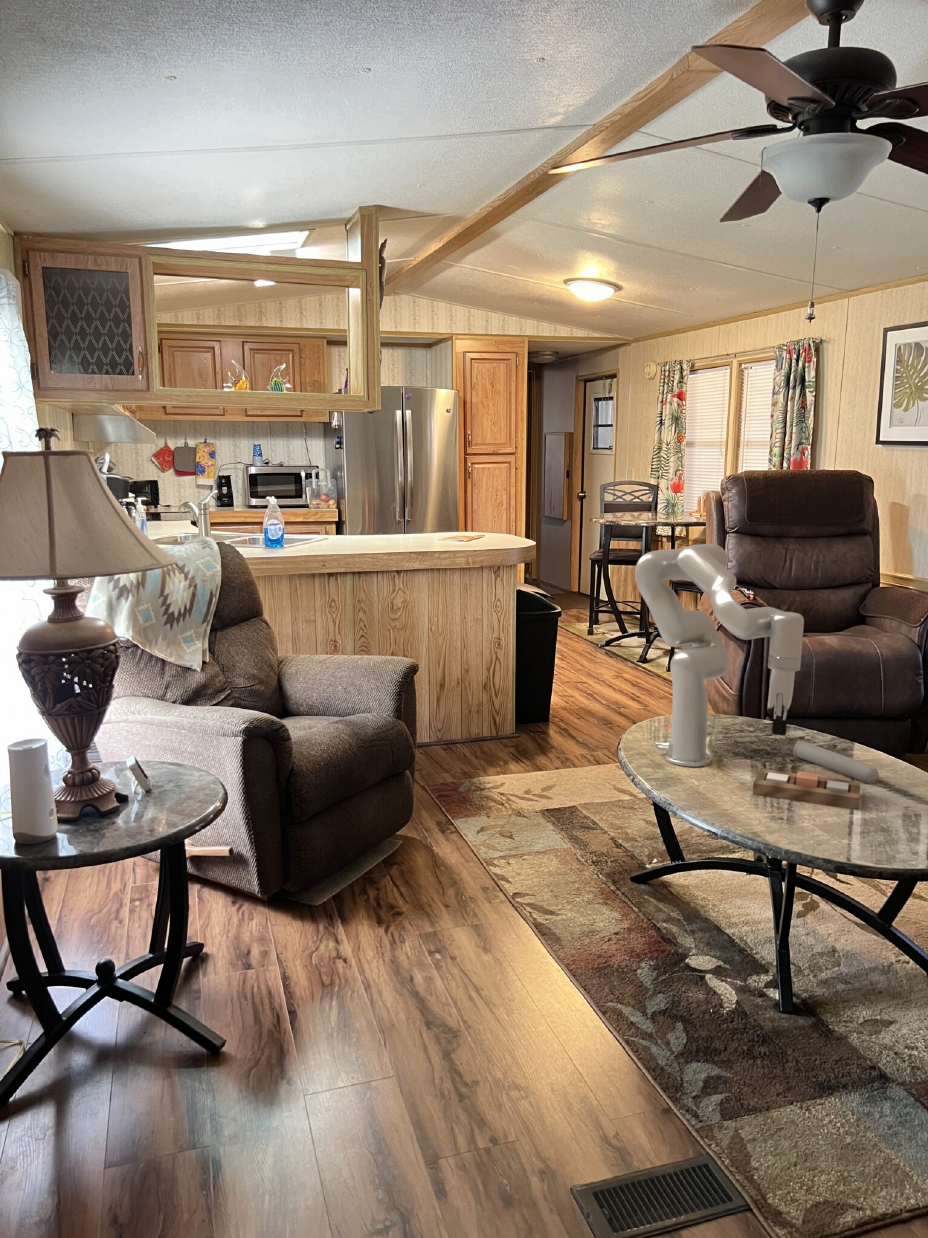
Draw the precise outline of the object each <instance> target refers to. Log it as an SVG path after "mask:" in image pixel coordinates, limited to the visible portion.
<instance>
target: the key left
mask: <svg viewBox="0 0 928 1238" xmlns="http://www.w3.org/2000/svg"><path fill="white" fill-rule="evenodd" d="M788 776H789V775H785V774H777V773H770V772H769V773H768V775H767V778H766V781H772V782H779V783H786V784H788Z"/></svg>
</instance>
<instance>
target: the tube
mask: <svg viewBox="0 0 928 1238" xmlns="http://www.w3.org/2000/svg"><path fill="white" fill-rule="evenodd" d="M792 755H793V756H794V757H795V758H797V759H801V760H803V761H805V762H809V763H811V764H814V765H817V766H820V767H823V768H824V769H828V770H830V771H833V772H836V773H839V774H841V775H843V776H846V777H849V778H851V779H854V780H856V781H858V782H861V783H865V784H870V785H871V784H874V783H876V782H877V781H878V780H879V779H880V774H879V773H880V772H879V770H878V769H877V768H876V767H875V766H874V765H871V764H869V763H866V762H863V761H860V760H857V759H856V758H855V759H854V758H852V757H849V756H846V755H843V754H840V753H838V752H835V751H832V750H829V749H827V748H825V747H821V746H818V745H815V744H813V743H810V742H807V741H806V740H804V739H801V740H798V741H796V743H795V745H794V746H793V753H792Z"/></svg>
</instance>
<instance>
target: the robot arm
mask: <svg viewBox="0 0 928 1238" xmlns="http://www.w3.org/2000/svg"><path fill="white" fill-rule="evenodd" d="M728 561H729V558H728V554H727V553H726V551H725V550H724V548H723V547H721V546H720V545H718V544H715V543H703V544H702V543H701V544H692V545H689V546H686V547H685V548H673V549H659V550H652V551H649V552H647V553H645V554H643V555H642V556H640V558H639V559H638V561H637V562H636V566H635V569H634V581H635V584H636V587H637V590H638V592H639V593H640V595H641V597H642V599H643V600H644V602H645V604H646V605H647V607H648V609H649V611H650V612H649V613H650V615H651V616H652V619H653V622H654V624H655V625H656V628H657V629H658V632H659V635H660V637H661V638H662V640H663V642H664V643H665V645H668V646H669V647H672V648H677V647H684V646H685V647H686V646H691V647H689V648H688V647H687V648H682V649H681V650H679V651H677V652H676V653H675V654H674V655H673V656H672V658H671V660H670V662H669V663H670V664H669V668H670V669H669V670H670V676H671V681H672V682H671V683H672V706H671V707H672V708H671V731H670V733H671V735H670V737H671V739H670V741H667V742H664V741H660V740H655V748H656V749H657V750H658V751H665V753H664V759H665V761H667V762H669V763H670V764H673V765H677V766H683V767H691V768H692V767H704V766H707V765H710V764H711V763H712V759H713V758H712V756H711V755H710V754H708V753H707V739H708V738H707V737H708V720H709V719H708V716H709V714H708V713H709V696H708V695H709V694H708V691H707V689H706V686H705V682H706V681H708V680H714V679H718V678H721V677H723V676H725V674H726V673H727V672H728V670H729V668H730V658H729V653H728V652H727V649H726V647H725V645H724V643H723V640H722V638H721V637H720V634H719V632H718V630H717V628H716V626H715V624H714V622H713V620H712V619H711V617H710V616H708V614H706V612H704V611H702V610H697V609H696V610H694V609H693V610H686V609H685V608H684V607H683V605H682V603H681V602H680V600H679V597H678V595H677V594H676V592H675V591H674V590H673V589H672V588H671V587H670V586H668V585H667V583H666V582H665V581H671V580H679V579H689V580H690V581H691V582H692V583H693V584H694V585H696V586H697V587H698V588H699V589H700V590H701V591H702V592H703V593H704V594H705V595H706V596H707V597H708V598H709V599H710V605H711V609H712V613H713V614H714V616H715V617H716V620H717V621H718V622H719V623H720V624H721V625H722V626H723V627H724V628H725V629H726V630H727V631H728V632H729V633H730V634H732V635H733V636H735V637H736V638H737V639H741V640H746V641H748V640H753V639H754V640H755V639H760V638H768V637H769V648H768V657H767V658H768V659H767V660H768V661H767V668H768V669H770V670H771V674H770V680H769V688H768V689H769V690H768V699H767V709H769V710H771V709H772V708H773V718H772V726H771V728H772V729H771V733H772V735H775V736H776V735H777V736H782V737H783V736H786V734H787V729H788V728H787V727H788V718H787V716H788V710H789V709H790V706H791V703H792V700H793V693H794V687H795V674H796V672H799V671H800V670H801V664H802V662H801V661H802V650H803V637H804V636H803V635H804V624H805V619H804V617H803V615H802V614H800V613H799V612H798V613H797V612H792V611H783V610H782V609H781V610H780V609H778V608H776V607H771V606H762V607H753V608H747V609H746V608H745V607H744V606H743V605H741V604H740V603H739V602H738V601H737V600H736V599H735V598H734V597H733V596H732V592H734V591H733V590H734V589H735V587H736V585H737V577H736V576H735V574H733V572H731V571H730V570H729V569H728V568H727V565H728Z"/></svg>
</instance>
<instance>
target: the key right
mask: <svg viewBox="0 0 928 1238" xmlns="http://www.w3.org/2000/svg"><path fill="white" fill-rule="evenodd" d="M848 786H849V783H844V782H837V781H829V780H828V782H827V786H826V789H829V790H836V791H843V792H848Z"/></svg>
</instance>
